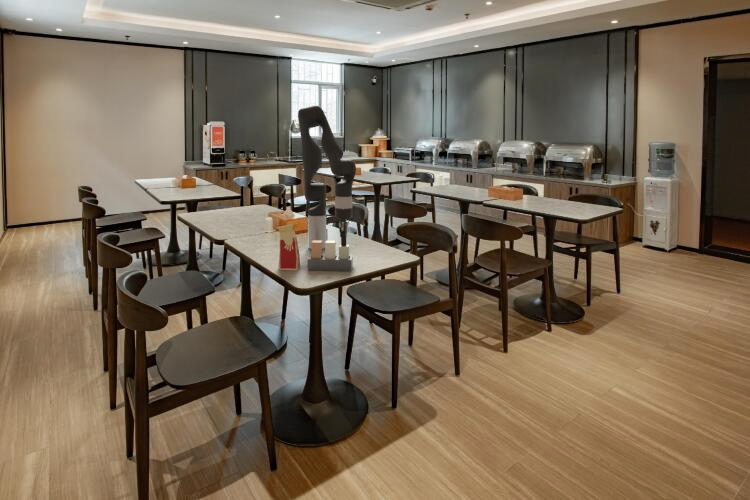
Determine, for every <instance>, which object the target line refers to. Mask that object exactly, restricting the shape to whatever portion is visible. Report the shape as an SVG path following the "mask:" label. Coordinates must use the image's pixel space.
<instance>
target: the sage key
mask: <svg viewBox="0 0 750 500" xmlns="http://www.w3.org/2000/svg"><path fill="white" fill-rule="evenodd" d="M338 255H339V259H349V255H350V244H346V246H341V244H339V245H338Z"/></svg>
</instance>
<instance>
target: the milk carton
mask: <svg viewBox="0 0 750 500" xmlns="http://www.w3.org/2000/svg"><path fill="white" fill-rule="evenodd" d="M276 228H277V229H278V232H279V257H278V266H277V267H278V270H279V271H298V270H299V268H300V267H301V258H300V257H301V255H300V249H299V242H298V240H297V238H298V237H297V236H296V232H295V228H294V223H290V224H287V225H282V226H278V227H277V226H276Z"/></svg>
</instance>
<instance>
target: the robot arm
mask: <svg viewBox="0 0 750 500" xmlns="http://www.w3.org/2000/svg"><path fill="white" fill-rule="evenodd" d="M297 120H298V127H299V132H300V133H299V134H300V140H301V156H302V166H303V175H304V177H303V178H304V179H303V182H304V184H303V185H304V187H303V188H304V189H303V190H304V199H305V200H306V202H311V203H312V202H314V203H315V202H316V203H317V202H319V203H318V205H316V206H314V207H310V208H308V209H307V223H308V224H307V231H308V233H307V234H308V235H307V236H308V243H307V244H308V249H310V250H311V242H312V241H313V240H320V241H322V250H325V242H326V241H329V239H328V235H329V234H328V228H327V185H326V183H322V182H315V183H314V182H313V183H312V181H313V179H314V177H315V175H316V174H317V172H319V171H320V168H321V167H322V164H323V154H322V153H323V152H324V154H325V156H326V157H327V159H328V163H329V167H330V170H331V173H332V174H333V175H334V176H335V177H338V178H339V177H340V178H341V177H342V180H341V181H339V182H337V183H336V184H335V190H334V191H335V199H334V217H335V218H336V219H340V221H338V227H339V228H338V229H339V237H340V245H341V246H346V245H347V237H348V232H349V220H348V219H352V218H353V184H354V179H355V176H356V172H357V167H356V166H357V165H356V163H355V161H353V160H352V159H350V158H349V159H342V158H343V157H344V151H343V149H342V147H341V146H340V144H339V142H338V141H337V139H336V137H335V136H334V134H333V133H334V132H333V131H332V128H331V126H330V124H329V121H328V119H327V117H326V115H325V111H324V110H323V108H322V107H321V106H320V105H318V104H315V105H310V106H305V107H302V108H300V109H298V111H297ZM317 127H320V128H321V131H322V132H321V133H322V134H321V139H320V140H321V141H320V144H321V147H320V145H319V144H318V143H317V142H316V141H315V140H314V139H313V137H312V136H311V134H310V129H312V128H317ZM322 150H323V152H322Z"/></svg>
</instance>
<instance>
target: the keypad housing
mask: <svg viewBox="0 0 750 500" xmlns="http://www.w3.org/2000/svg"><path fill="white" fill-rule="evenodd" d="M353 257H354V255H353V254H349V259H339V254H336V258H335V259H325V254H322V258H321V259H320V258H312V253H311V254H309V257H308V258H307V271H309V272H310V271H313V272H314V271H316V272H317V271H318V272H319V271H321V272H322V271H323V272H324V271H325V272H352V270H353V267H354V266H353V265H354V260H353V259H354V258H353Z"/></svg>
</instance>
